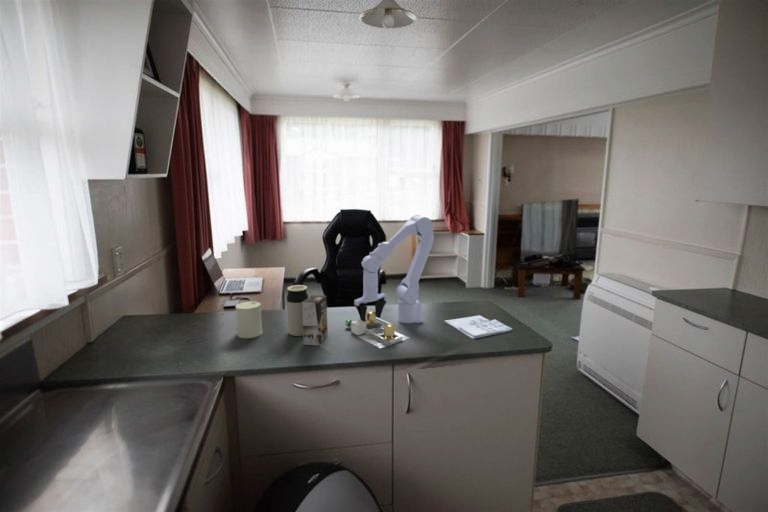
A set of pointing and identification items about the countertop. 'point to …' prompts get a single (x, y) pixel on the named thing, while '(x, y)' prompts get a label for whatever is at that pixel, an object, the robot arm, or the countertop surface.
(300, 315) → the travel mug
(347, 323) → the knob
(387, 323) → the tray
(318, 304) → the coffee box
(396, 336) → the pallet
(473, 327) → the white printed book
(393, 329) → the billet
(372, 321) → the cylinder
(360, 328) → the white block
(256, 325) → the can
